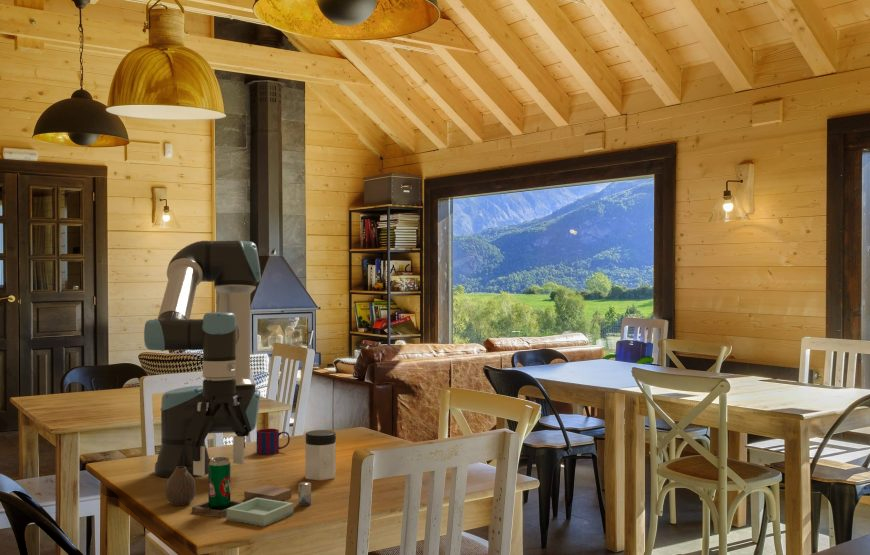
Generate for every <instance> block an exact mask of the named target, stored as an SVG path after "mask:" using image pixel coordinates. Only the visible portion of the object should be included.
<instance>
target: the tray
mask: <svg viewBox="0 0 870 555" xmlns="http://www.w3.org/2000/svg"><path fill="white" fill-rule="evenodd" d="M242 502H243V503H241V504H238V505H235V506H233V507H230V508H228V509H227V515H226V521H231V522H238V523H241V522H244V523H243V524H247V523H249V525H253V524H254V525H253V526H258V525H259V526H261V527H266V526H268V525H271V524H273V523H276V522H278V521H280V520H282V519H285V518H287V517H290V516H293V514H294V503H292V502H288V501H276V500H270V499H263V498H254V499H251V500H249V501H248V500H245V501H242Z"/></svg>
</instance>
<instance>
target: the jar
mask: <svg viewBox="0 0 870 555" xmlns="http://www.w3.org/2000/svg"><path fill="white" fill-rule="evenodd" d="M336 439H337V436H336V431H334V430H328V429H318V430H317V429H315V430H310V431H307V432H305V445H304V446H305V447H304V448H305V449H304V450H305V452H304V454H305V455H304V456H305V457H304V458H305V459H304V461H305V463H304V464H305V469H304V471H305V475H304V476H305V477H304V478H305V479H306V480H312V481H326V480H327V481H328V480H333V479H335V478H336V464H337V463H336V456H337V455H336V449H337V448H336V446H337V445H336V444H337V442H336Z"/></svg>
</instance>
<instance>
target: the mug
mask: <svg viewBox="0 0 870 555" xmlns="http://www.w3.org/2000/svg"><path fill="white" fill-rule="evenodd" d="M282 434H286V436H287V439H288V440H287V443H286V444H285V445H283V446H280V436H281V435H282ZM290 441H291V436H290V434H289V433H288V431H281V432H280V430H279V429H278V428H259V429H257V430H256V454H257V455H260V456H272V455H276V454H278V453H279V452H280V450H282V449H285V448H286V447H287V446H288V445H289V444H290Z"/></svg>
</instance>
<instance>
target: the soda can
mask: <svg viewBox="0 0 870 555" xmlns="http://www.w3.org/2000/svg"><path fill="white" fill-rule="evenodd" d="M209 459H210V462H209V464H208V473H207V474H208V476H207V478H208V483H207V485H208V486H207V487H208V488H207V489H208V493H207V494H208V495H207V496H208V499H207V500H208V501H207V502H208V509H214V510H220V511H221V510H224V509H227V508H229V507H231V500H232V497H231V490H232V488H231V486H232V485H231V480H232V479H231V477H232V476H231V472H232V470H231V469H232V468H231V462H230V458H228V457H226V456H218V457H213V458H212V457H211V458H209Z"/></svg>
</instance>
